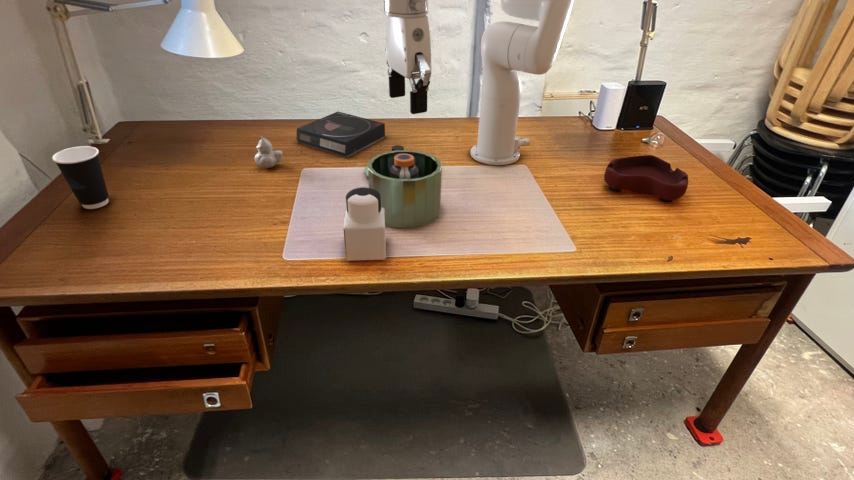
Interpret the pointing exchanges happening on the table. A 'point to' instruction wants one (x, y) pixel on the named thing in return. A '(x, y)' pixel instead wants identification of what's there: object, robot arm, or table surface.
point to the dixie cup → (83, 175)
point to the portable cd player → (341, 133)
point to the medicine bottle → (364, 225)
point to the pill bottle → (404, 167)
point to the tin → (407, 189)
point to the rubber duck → (267, 154)
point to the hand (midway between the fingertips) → (407, 104)
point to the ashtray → (646, 177)
